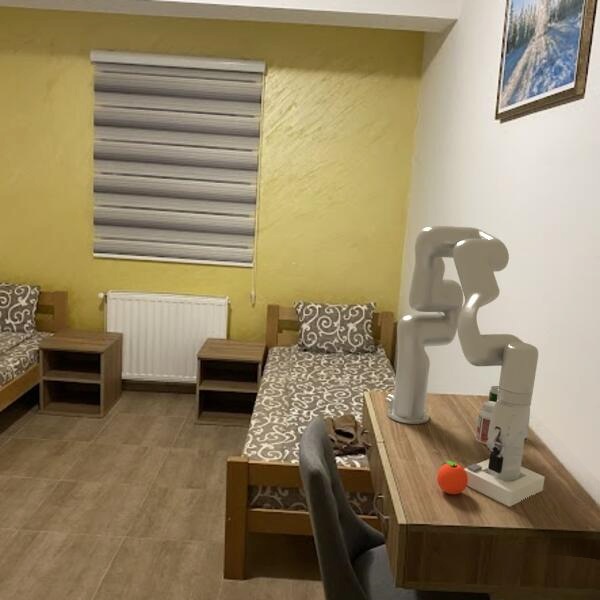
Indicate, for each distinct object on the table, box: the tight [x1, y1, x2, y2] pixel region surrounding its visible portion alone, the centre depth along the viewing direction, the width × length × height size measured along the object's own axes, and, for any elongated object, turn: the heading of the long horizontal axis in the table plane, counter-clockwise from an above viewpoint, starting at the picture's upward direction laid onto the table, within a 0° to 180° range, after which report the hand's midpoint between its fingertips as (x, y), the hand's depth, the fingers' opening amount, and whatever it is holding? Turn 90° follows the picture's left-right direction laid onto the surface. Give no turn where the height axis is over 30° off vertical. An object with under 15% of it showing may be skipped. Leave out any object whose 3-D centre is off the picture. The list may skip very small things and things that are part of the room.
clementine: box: [436, 460, 468, 495], centre depth 145 cm, size 8×7×7 cm
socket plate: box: [463, 458, 546, 507], centre depth 149 cm, size 13×14×4 cm
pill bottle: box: [475, 400, 496, 446], centre depth 175 cm, size 6×6×11 cm
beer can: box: [487, 385, 499, 402], centre depth 185 cm, size 5×5×12 cm
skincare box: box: [488, 432, 525, 481], centre depth 148 cm, size 6×4×12 cm
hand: (504, 466), depth 149 cm, fingers closed on skincare box, 7 cm apart
